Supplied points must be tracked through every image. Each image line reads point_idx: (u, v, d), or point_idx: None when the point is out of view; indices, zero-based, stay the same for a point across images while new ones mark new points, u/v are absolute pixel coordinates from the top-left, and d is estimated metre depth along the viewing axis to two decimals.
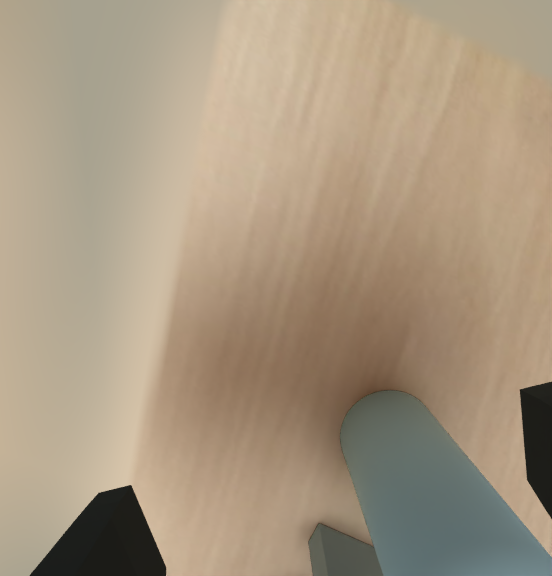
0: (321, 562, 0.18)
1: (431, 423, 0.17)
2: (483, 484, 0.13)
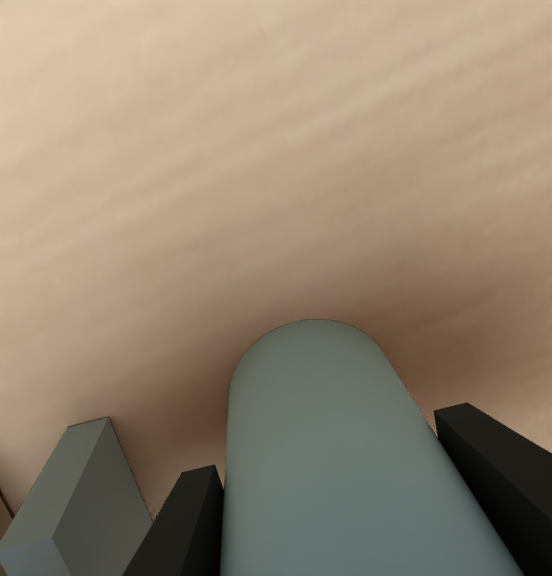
0: (66, 479, 0.09)
1: None
2: None
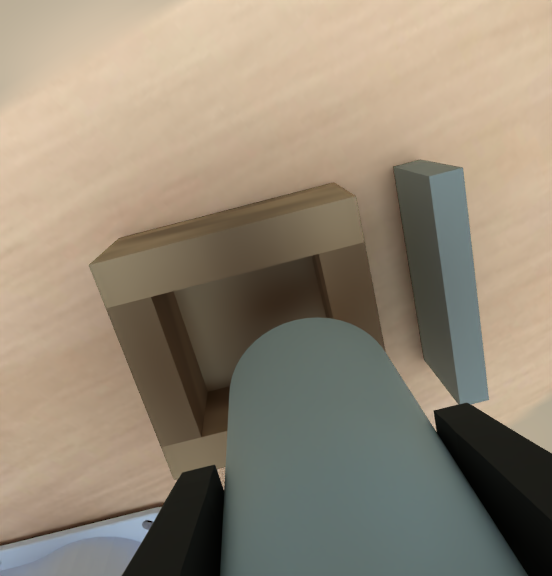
0: (433, 166, 0.15)
1: None
2: None
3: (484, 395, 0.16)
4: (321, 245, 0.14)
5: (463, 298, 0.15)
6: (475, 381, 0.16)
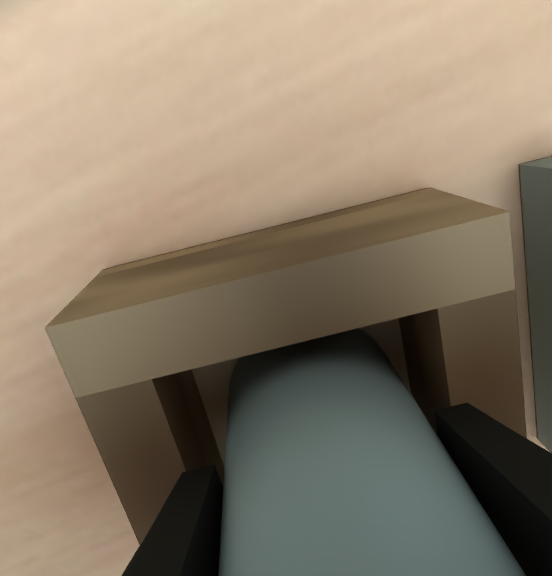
0: None
1: None
2: None
3: None
4: (443, 294, 0.08)
5: None
6: None
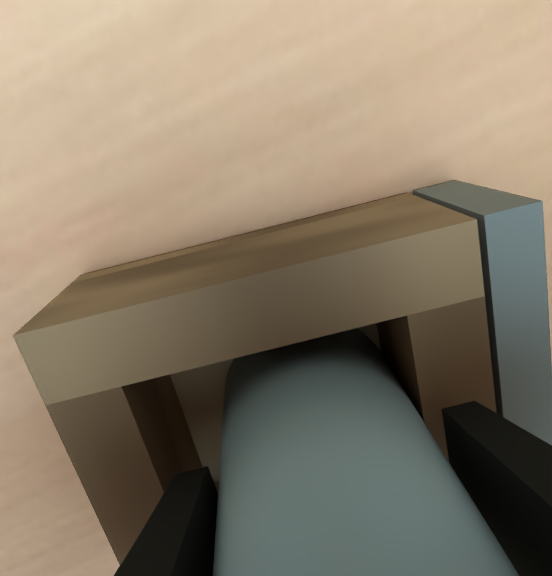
0: (483, 193, 0.09)
1: None
2: None
3: None
4: (412, 301, 0.08)
5: (531, 408, 0.09)
6: None
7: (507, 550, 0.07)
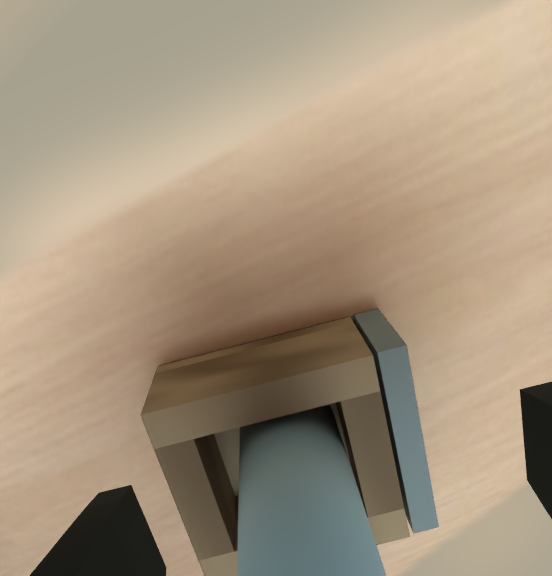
0: (385, 329, 0.17)
1: (347, 457, 0.17)
2: None
3: (434, 523, 0.18)
4: (342, 394, 0.16)
5: (412, 446, 0.17)
6: (425, 512, 0.18)
7: None
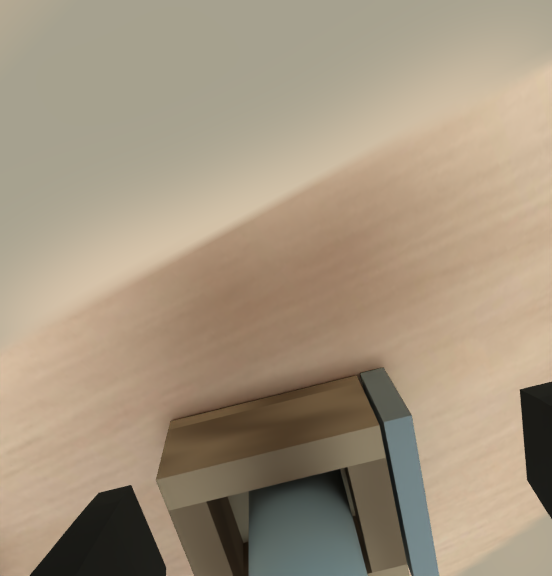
0: (391, 394, 0.18)
1: (353, 521, 0.18)
2: None
3: None
4: (349, 460, 0.17)
5: (415, 507, 0.18)
6: (427, 567, 0.19)
7: None
